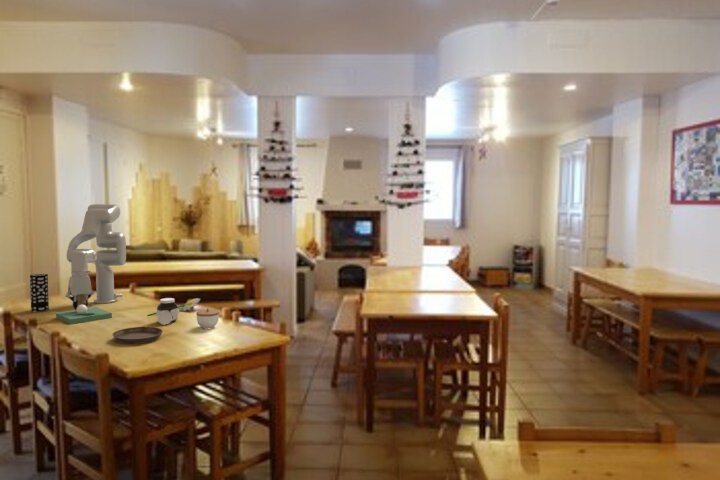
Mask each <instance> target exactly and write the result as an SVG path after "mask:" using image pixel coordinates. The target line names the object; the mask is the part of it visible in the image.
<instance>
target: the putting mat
mask: <svg viewBox="0 0 720 480" xmlns="http://www.w3.org/2000/svg"><path fill="white" fill-rule="evenodd" d="M55 318H56V319H58V320H61V321H63V322H65V323H67V324H69V325H73V324H81V323H86V322H94V321H99V320H105V319H112V318H113V313H112V312H111V311H109V310H108V311H107V310H104V309H103V308H102V309H101V308H99V307H89V308H88V307H87V312H86V313H85V314H78V313H77V311H76V310H75V309H73V310H67V311H60V312H56V313H55Z"/></svg>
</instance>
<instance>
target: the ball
mask: <svg viewBox="0 0 720 480" xmlns="http://www.w3.org/2000/svg"><path fill="white" fill-rule="evenodd" d="M87 309H88V306H87V307H86V306H85V305H79V306H78V307H77V308H76V311H77V313H78V314H85V313H86V312H87Z"/></svg>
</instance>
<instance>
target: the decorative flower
mask: <svg viewBox="0 0 720 480" xmlns="http://www.w3.org/2000/svg"><path fill="white" fill-rule="evenodd" d="M200 301H201V299H200V298H198V297H196V298H193V299H190V300H188V301H186V303H184V304H183V305H179V306H178V305H177V306H178V312H186V311H190V308H193V306H194V307H195V306H197V304H198V303H200ZM153 315H157V311H156V312H153V313H149V314H147V317H150V316H153Z"/></svg>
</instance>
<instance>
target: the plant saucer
mask: <svg viewBox="0 0 720 480" xmlns="http://www.w3.org/2000/svg"><path fill="white" fill-rule="evenodd" d="M163 331H164V330H162V329H161V328H159V327H153V326H134V327H127V328H122V329H118V330H115V331H114V332H113V333H112V335H111V336H112V337H113V338H114V339H115V340H116V341H117V342H119V343H121V344H127V345H128V344H129V345H137V344H138V343H139V344H145V342H146V343H149V342H153V341H155V339H156V340H157V339H159V337H161V335H162V333H163Z"/></svg>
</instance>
